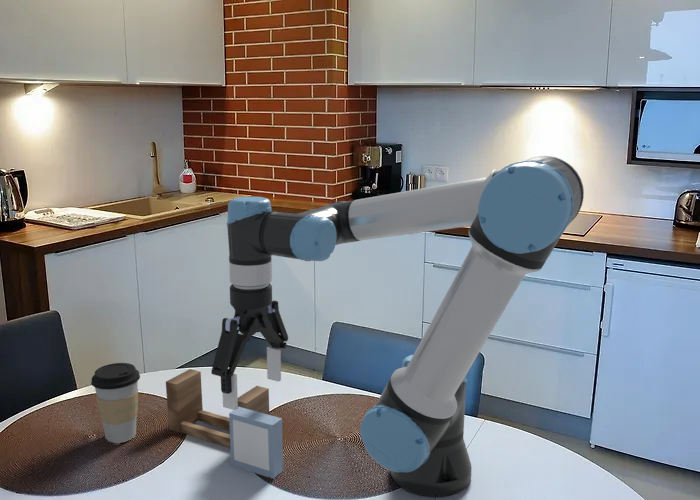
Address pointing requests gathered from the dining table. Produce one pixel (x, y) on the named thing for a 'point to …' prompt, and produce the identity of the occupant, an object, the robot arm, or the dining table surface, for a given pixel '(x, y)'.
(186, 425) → the track
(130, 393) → the coffee cup
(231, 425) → the door panel
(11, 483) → the dining table surface
